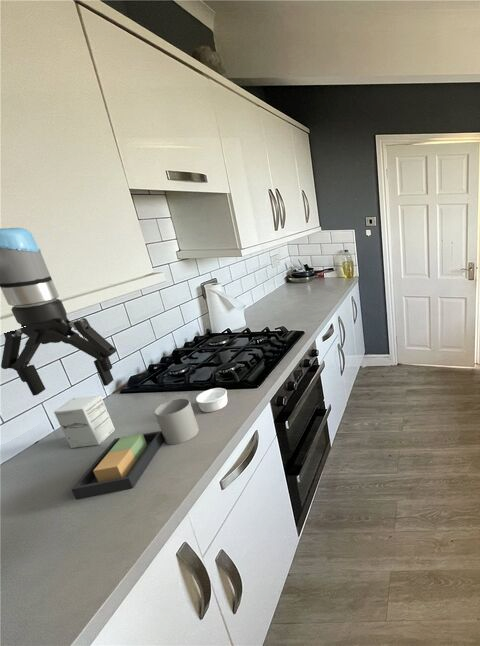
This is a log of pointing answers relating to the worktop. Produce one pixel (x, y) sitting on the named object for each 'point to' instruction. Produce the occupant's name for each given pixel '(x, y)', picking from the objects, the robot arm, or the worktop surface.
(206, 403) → the ramekin
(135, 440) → the pad
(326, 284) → the worktop surface
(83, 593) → the worktop surface
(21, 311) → the robot arm
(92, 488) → the tray
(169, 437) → the cup
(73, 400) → the white packaging box
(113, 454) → the light orange rectangular block
